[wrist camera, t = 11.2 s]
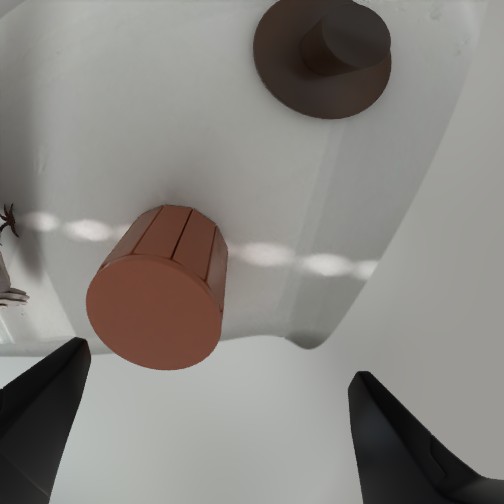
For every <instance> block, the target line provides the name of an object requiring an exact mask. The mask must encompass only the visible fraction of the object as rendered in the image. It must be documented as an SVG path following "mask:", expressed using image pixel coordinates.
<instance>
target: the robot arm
mask: <svg viewBox="0 0 504 504" xmlns="http://www.w3.org/2000/svg"><path fill="white" fill-rule="evenodd" d="M90 363H91V354H90V350H89V346H88V342H87V340H86V339H83V338H79V337H75V338H73V339H71V340H70V341H68V342H67V343H65V344H64V345H62V346H61V347H60V348H58V349H57V350H55V351H54V352H52V353H51V354H49V355H48V356H47V357H45V358H44V359H42V360H41V361H39V362H38V363H37V364H35V365H34V366H33V367H31V368H30V369H28V370H27V371H25V372H24V373H22V374H21V375H20V376H18V377H17V378H16V379H14V380H13V381H11V382H10V383H8V384H7V385H6V386H4V387H3V389H0V504H49V500H50V496H51V492H52V488H53V485H54V481H55V477H56V474H57V470H58V467H59V464H60V461H61V457H62V454H63V451H64V448H65V444H66V442H67V438H68V436H69V432H70V430H71V427H72V424H73V421H74V418H75V415H76V412H77V410H78V407H79V404H80V401H81V398H82V394H83V390H84V386H85V382H86V379H87V375H88V371H89V367H90ZM348 399H349V411H350V424H351V433H352V438H353V444H354V449H355V455H356V461H357V467H358V473H359V478H360V485H361V492H362V498H363V504H504V480H497V479H490V478H486V477H483V476H481V475H479V474H478V473H477V472H475V471H474V470H473V469H471V468H470V467H469V466H468V465H466V464H465V463H464V462H462V461H461V460H460V459H459V458H458V457H456V456H455V455H454V454H453V453H452V452H451V451H449V450H448V449H447V448H446V447H445V446H444V445H443V444H442V443H441V442H440V441H439V440H438V439H437V438H436V437H435V436H433V435H432V434H431V433H430V431H428V429H426V428H425V427H424V426H423V425H422V424H421V423H420V422H419V421H418V420H417V419H416V418H415V417H414V416H413V415H412V414H411V413H410V412H409V411H408V410H407V409H406V408H405V407H404V406H403V405H402V404H401V403H400V402H399V401H398V400H397V399H396V398H395V397H394V396H393V395H392V394H391V393H390V392H389V391H388V390H387V389H386V388H385V387H384V386H383V385H382V384H381V383H380V382H379V381H378V380H377V379H376V378H375V377H374V376H373V375H372V374H371V373H370V372H368V371H358V372H357V373H356V374H355V376H354V378H353V380H352V382H351V383H350V385H349V388H348Z"/></svg>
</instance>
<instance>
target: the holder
mask: <svg viewBox="0 0 504 504" xmlns="http://www.w3.org/2000/svg"><path fill="white" fill-rule="evenodd" d="M390 46H391V38H390V33H389V30H388V28H387V26H386V24H385V22H384V21H383V20H382V18H381V17H380V16H379V15H378V14H376V13H375V12H374V11H372V10H371V9H369V8H367V7H365V6H363V5H359V4H357V3H356V2H354V1H352V0H280V1H278V2H276V3H275V4H274V5H273V6H271V7H270V8H269V9H268V11H267V12H266V13H265V14H264V15H263V17H262V18H261V20H260V22H259V24H258V26H257V29H256V32H255V36H254V42H253V57H254V62H255V66H256V69H257V72H258V74H259V76H260V78H261V80H262V82H263V83H264V85H265V86H266V88H267V89H268V90H269V91H270V92H271V94H272V95H273V96H274V97H275V98H277V99H278V100H279V101H280V102H281V103H283V104H284V105H286V106H287V107H289V108H291V109H292V110H294V111H296V112H299V113H301V114H304V115H307V116H311V117H315V118H322V119H340V118H345V117H350V116H353V115H355V114H358V113H360V112H362V111H364V110H365V109H367V108H368V107H370V106H371V105H372V104H373V103H374V102H375V101H376V100H377V99H378V98H379V97H380V95H381V94H382V93H383V91H384V89H385V87H386V85H387V83H388V80H389V76H390V72H391V52H390Z"/></svg>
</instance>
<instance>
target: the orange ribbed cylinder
mask: <svg viewBox="0 0 504 504" xmlns="http://www.w3.org/2000/svg"><path fill="white" fill-rule="evenodd" d="M215 225H216V224H215V223H214V222H212V221H211V220H210V219H208V218H207V217H205V216H204V215H202V214H201V213H200V212H198V211H197V210H195V209H193V210H192V208H190V207H182V206H173V205H165V206H163V205H162V206H159V207H157V208H155V209H153V210H151V211H148V212H146V213H144V214H142V215H141V216H140V217H138V218H137V220H136V221H135V222H134V223H133V225H132V226H131V227H130V228H129V230H128V231H127V232H126V233H125V235H124V236H123V237H122V238H121V240H120V241H119V242H118V244H117V245H116V246H115V247H114V249H113V250H112V251H111V253H110V254H109V255H108V257H107V258H106V259H105V261H104V262H103V263H102V265H101V266H100V268H99V270H98V271H97V273H96V275H95V277H94V278H93V280H92V281H91V283H90V285H89V288H88V290H87V295H86V310H87V315H88V318H89V321H90V323H91V326H92V327H93V329H94V331H95V333H96V334H97V335H98V337H99V338H100V339H101V340H102V342H103V343H104V344H105V345H106V346H107V347H108V348H110V349H111V350H112V351H113V352H115V353H116V354H117V355H119V356H120V357H122V358H124V359H126V360H128V361H129V362H132V363H134V364H137V365H140V366H143V367H146V368H151V369H156V370H177V369H184V368H187V367H190V366H193V365H195V364H197V363H199V362H201V361H203V360H204V359H205V358H206V357H208V356H209V355H210V353H211V352H212V351H213V350H214V349H215V347H216V346H217V344H218V341H219V339H220V335H221V327H222V318H223V309H224V296H225V283H226V270H227V258H228V250H227V249H228V248H227V245H226V243H225V241H224V239H223V237H222V235H221V233H220V230H219V228H218V226H215Z"/></svg>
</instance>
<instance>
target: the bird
mask: <svg viewBox="0 0 504 504" xmlns="http://www.w3.org/2000/svg"><path fill="white" fill-rule="evenodd" d="M12 206H13V203H12V205H11V207H10V211H9V214H8V212H7V211H6V208H5V204H4V213H5V215H6V217H4V216H2V215H1V214H0V217H1V218H2V219H3V220H4V221H6V223H4V224H3V225H2V226H1V227H0V237H1V232H2V230H3V228H4V227H6V226H7V225H9V226H11V229H12V231H13V233H14V234H15V235H16V236H17V237H19V236H18V235H17V234H16V231H15V227H14V224H15V219H14V217H13V215H12ZM0 245H1V244H0ZM1 246H2V245H1ZM10 286H11V283H10V277H9V275H8V272H7V270H6V267H5V264H4V261H3V258H2V255H1V252H0V308H1V309H5V308H8V307H7V306H5V305H10V306H18V305H21V304H22V305H24V304H27V303H28V302H26V301H27V300H28V299H29V296H27V295H26V292H24V291H21V290H18V289H15V288H10ZM7 292H8V293H7Z"/></svg>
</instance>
